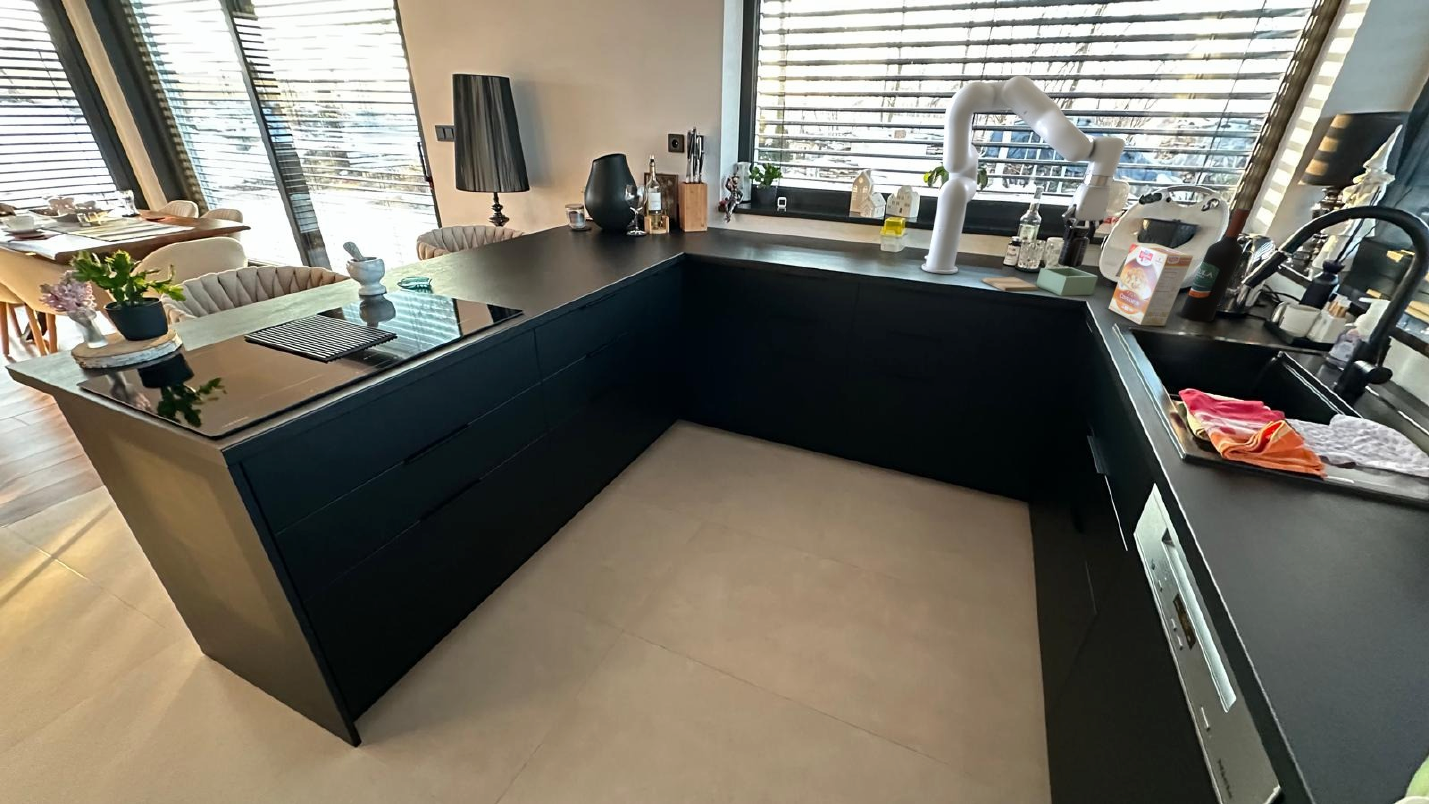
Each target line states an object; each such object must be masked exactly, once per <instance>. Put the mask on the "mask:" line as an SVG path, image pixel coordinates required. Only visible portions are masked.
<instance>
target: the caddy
mask: <svg viewBox="0 0 1429 804" xmlns="http://www.w3.org/2000/svg"><path fill="white" fill-rule="evenodd" d="M1098 279H1099V276H1098V275H1095V274H1092V273H1090V272H1086V271H1083V270H1081V269H1078V268H1076V267H1067V266H1064V267H1041V268H1040V270H1039V273H1038V276H1037V280H1036V283H1035V286H1038V288H1040V289H1043V290H1046V291H1048V292H1050V293H1053V294H1056V295H1057V296H1061V297H1065V296H1091V295H1093V292H1094V291H1095V290H1094V289H1095V287H1096V284H1097V281H1098Z"/></svg>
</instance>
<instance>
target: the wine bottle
mask: <svg viewBox="0 0 1429 804" xmlns="http://www.w3.org/2000/svg"><path fill="white" fill-rule="evenodd" d="M1250 212H1251V209H1250V208H1242V207H1241V208H1238V207H1237V208H1236V210H1235V212H1234V213H1233V217H1232V219H1231V221H1230V224H1229V226H1228V228H1227V230H1226V233H1225V235H1224V237H1223V238H1222V239H1221V240H1218V241H1215V242H1214V243H1212V244H1211V245H1209V247H1208V248H1207V250H1206V252H1205V254H1204V257H1203V259H1202V261H1201V264H1200V266H1199V269H1198V271H1197V273H1196V275H1195V278H1194V280H1193V283H1192V285H1191V288H1190V290H1189V292H1188V294H1187V297H1186V299H1185V301H1184V304H1183V306H1182V309H1181V311H1180V313H1179V316H1180V317H1182V318H1184V319H1187V320H1192V321H1196V322H1205V323H1206V322H1212V321H1213V320H1214V318H1215V315H1216V313H1217V311H1218V309H1219V307H1220V304H1221V303H1222V299H1223V298H1224V296H1225V294H1226V291H1227V289H1228V287H1229V285H1230V283H1231V281H1232V278H1233V276H1234V274H1235V272H1236V269H1237V267H1238V265H1239V263H1240V260H1241V259H1242V256H1243V255H1244V254H1243V253H1244V249H1243V246H1242V245H1241V244H1240V243H1239V242H1238V240H1239V236H1240V235H1241V232H1242V229H1243V227H1244V225H1245V222H1246V220H1247V218H1248V216H1249V215H1250Z"/></svg>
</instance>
